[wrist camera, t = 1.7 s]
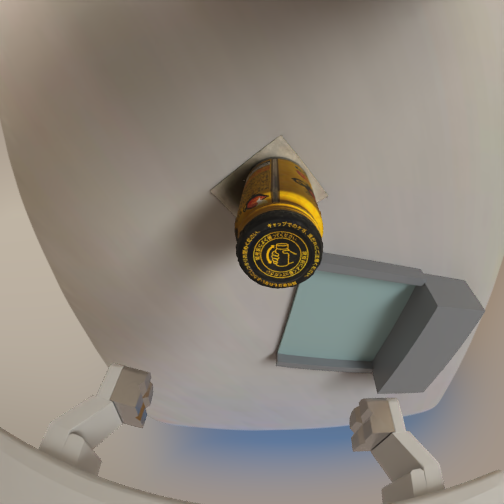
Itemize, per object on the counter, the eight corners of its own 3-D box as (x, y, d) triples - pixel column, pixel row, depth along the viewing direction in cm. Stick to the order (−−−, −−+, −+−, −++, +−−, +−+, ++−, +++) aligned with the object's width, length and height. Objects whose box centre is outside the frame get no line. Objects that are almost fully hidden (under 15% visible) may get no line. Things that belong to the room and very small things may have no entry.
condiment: (327, 195, 28) (357, 266, 18) (259, 242, 31) (250, 327, 21) (281, 134, 25) (286, 172, 15) (210, 189, 29) (174, 257, 18)
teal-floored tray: (308, 249, 31) (313, 285, 26) (466, 277, 32) (487, 307, 27) (276, 354, 40) (275, 390, 35) (411, 363, 41) (421, 394, 35)
